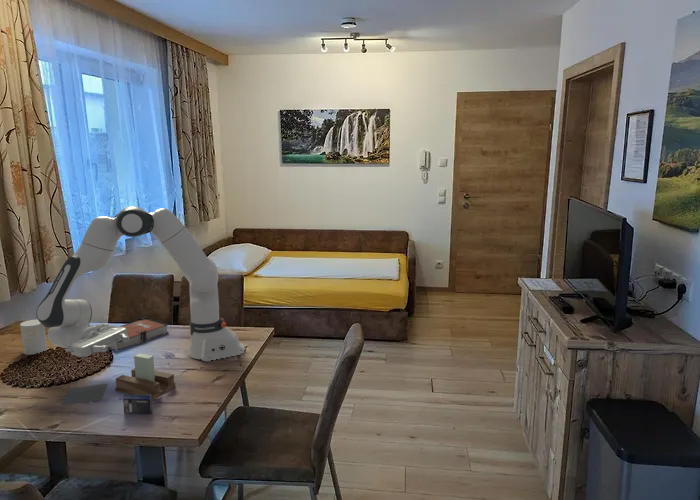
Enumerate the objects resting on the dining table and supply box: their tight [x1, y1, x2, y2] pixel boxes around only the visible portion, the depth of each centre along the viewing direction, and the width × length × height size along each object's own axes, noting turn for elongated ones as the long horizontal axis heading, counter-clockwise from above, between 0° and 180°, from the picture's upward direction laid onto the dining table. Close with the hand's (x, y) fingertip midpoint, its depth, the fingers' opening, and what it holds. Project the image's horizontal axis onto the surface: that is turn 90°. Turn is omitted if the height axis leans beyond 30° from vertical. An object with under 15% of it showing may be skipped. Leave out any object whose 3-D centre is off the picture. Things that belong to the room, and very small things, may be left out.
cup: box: [20, 318, 48, 356], centre depth 198 cm, size 8×8×12 cm
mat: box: [60, 383, 108, 406], centre depth 163 cm, size 12×12×1 cm
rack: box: [114, 367, 176, 401], centre depth 168 cm, size 11×16×5 cm
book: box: [108, 315, 169, 352], centre depth 214 cm, size 26×18×5 cm
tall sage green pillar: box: [133, 353, 155, 382], centre depth 167 cm, size 2×6×11 cm, turn 70°
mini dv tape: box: [122, 393, 153, 415], centre depth 152 cm, size 8×2×6 cm, turn 90°
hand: (117, 343), depth 170 cm, fingers open, 8 cm apart
